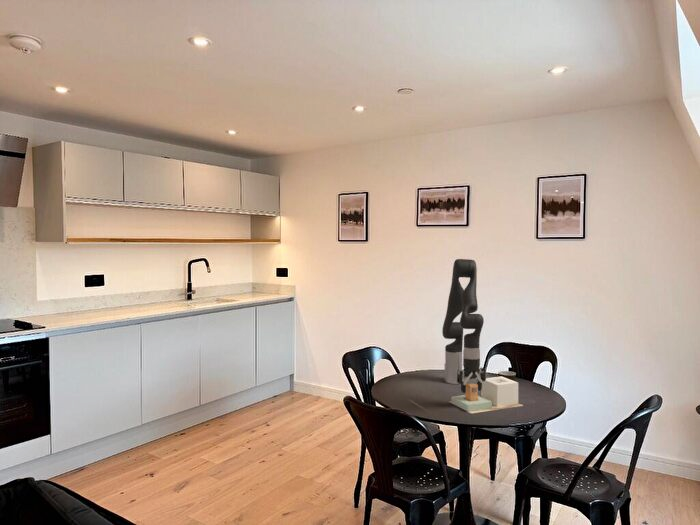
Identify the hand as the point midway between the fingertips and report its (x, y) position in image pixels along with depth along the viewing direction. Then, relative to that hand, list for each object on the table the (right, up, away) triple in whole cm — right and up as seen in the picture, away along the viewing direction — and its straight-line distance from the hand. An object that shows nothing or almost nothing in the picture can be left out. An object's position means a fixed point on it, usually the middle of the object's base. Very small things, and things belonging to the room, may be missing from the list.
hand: (471, 391), depth 223 cm
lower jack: (0, -7, 0) cm, 7 cm away
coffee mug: (+23, -7, +24) cm, 34 cm away
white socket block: (+15, -6, +6) cm, 17 cm away
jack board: (+7, -8, +3) cm, 11 cm away
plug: (0, -7, 0) cm, 7 cm away
